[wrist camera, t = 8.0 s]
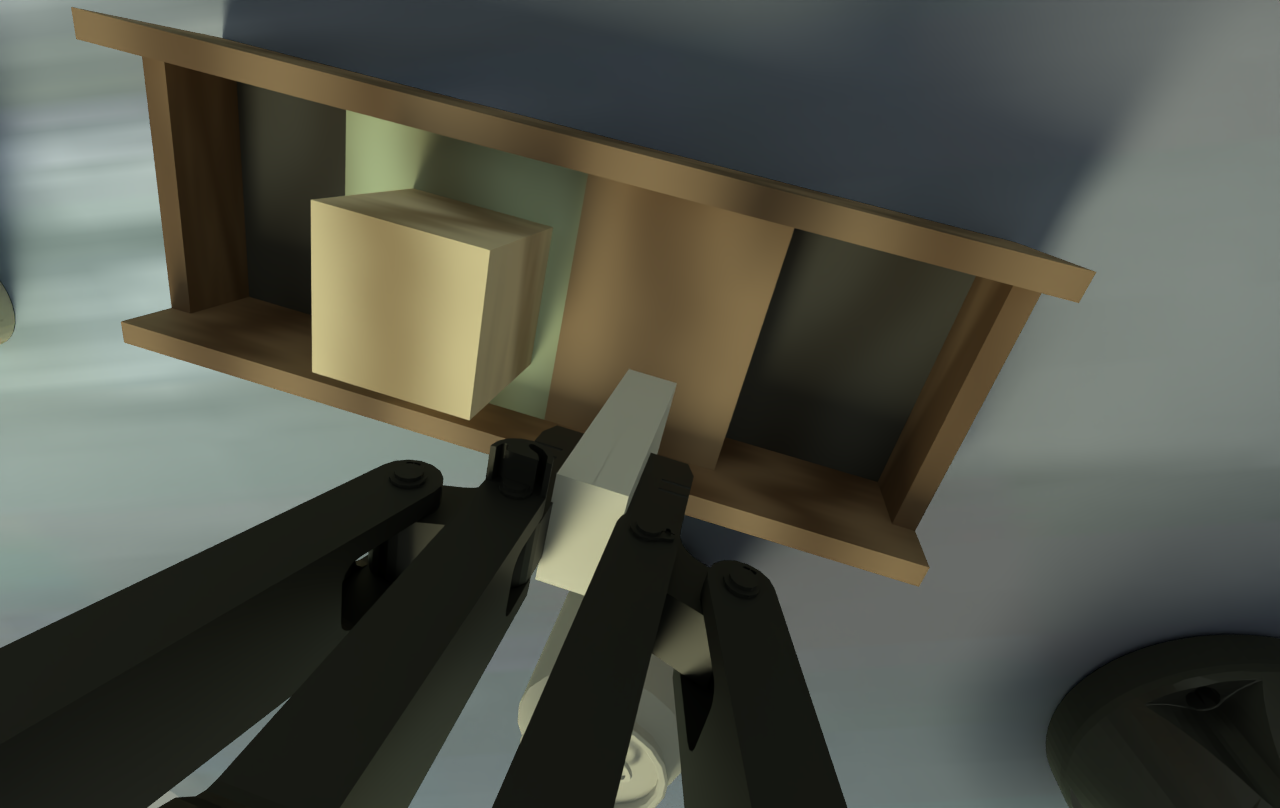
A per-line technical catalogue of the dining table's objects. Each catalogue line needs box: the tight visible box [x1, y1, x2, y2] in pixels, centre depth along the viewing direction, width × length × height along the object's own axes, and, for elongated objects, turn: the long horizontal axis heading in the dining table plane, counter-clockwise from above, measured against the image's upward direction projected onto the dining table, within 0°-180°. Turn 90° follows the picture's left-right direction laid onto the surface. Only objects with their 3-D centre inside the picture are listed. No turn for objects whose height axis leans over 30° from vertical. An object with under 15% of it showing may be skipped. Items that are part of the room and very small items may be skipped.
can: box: [518, 591, 681, 808], centre depth 29 cm, size 8×8×12 cm
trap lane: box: [71, 7, 1096, 587], centre depth 25 cm, size 36×13×6 cm, turn 77°
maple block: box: [311, 188, 553, 420], centre depth 22 cm, size 6×6×6 cm
